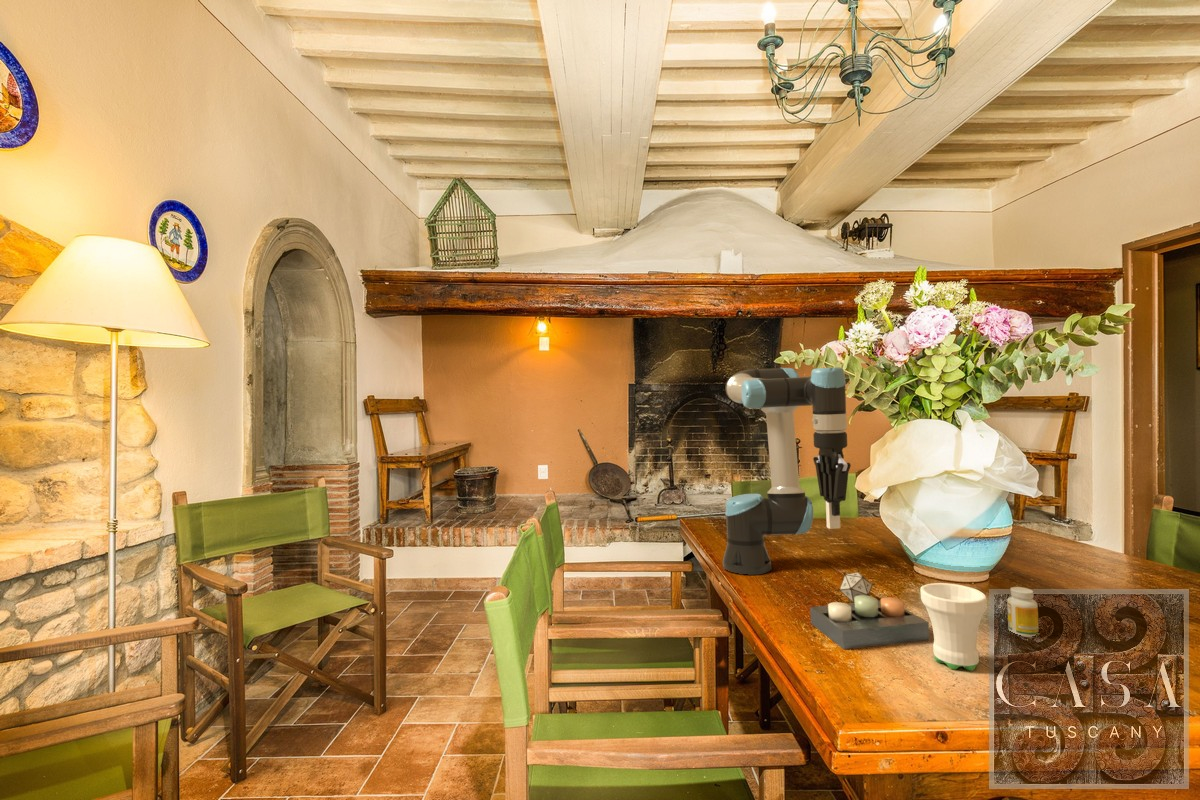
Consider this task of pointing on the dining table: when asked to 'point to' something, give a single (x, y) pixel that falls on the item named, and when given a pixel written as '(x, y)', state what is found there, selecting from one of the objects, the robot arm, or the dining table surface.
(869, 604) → the sage button
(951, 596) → the cup
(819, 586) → the dining table surface
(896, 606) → the terracotta button
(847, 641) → the panel
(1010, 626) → the supplement bottle
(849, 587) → the game die
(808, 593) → the dining table surface
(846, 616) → the ivory button
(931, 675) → the dining table surface
